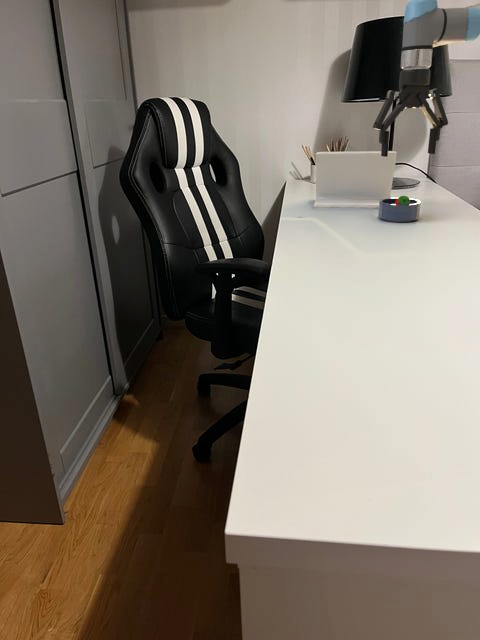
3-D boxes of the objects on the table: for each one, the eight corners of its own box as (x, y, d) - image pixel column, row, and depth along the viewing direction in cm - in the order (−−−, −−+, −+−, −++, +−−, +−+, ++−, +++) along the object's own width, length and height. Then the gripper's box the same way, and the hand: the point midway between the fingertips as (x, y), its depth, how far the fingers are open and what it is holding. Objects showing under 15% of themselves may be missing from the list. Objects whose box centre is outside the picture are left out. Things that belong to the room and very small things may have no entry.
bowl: (408, 214, 150) (409, 197, 148) (425, 221, 140) (427, 203, 138) (372, 216, 149) (373, 199, 147) (387, 224, 139) (388, 205, 137)
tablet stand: (392, 208, 159) (398, 151, 152) (313, 207, 164) (315, 152, 157) (388, 198, 175) (393, 147, 169) (316, 197, 180) (318, 148, 173)
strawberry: (402, 206, 146) (408, 189, 139) (410, 218, 144) (416, 201, 137) (388, 211, 145) (393, 194, 139) (395, 223, 143) (401, 206, 137)
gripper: (453, 68, 134) (443, 151, 143) (363, 72, 132) (359, 156, 140) (468, 66, 128) (457, 153, 136) (374, 70, 125) (369, 158, 133)
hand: (407, 155), depth 138 cm, fingers open, 13 cm apart
